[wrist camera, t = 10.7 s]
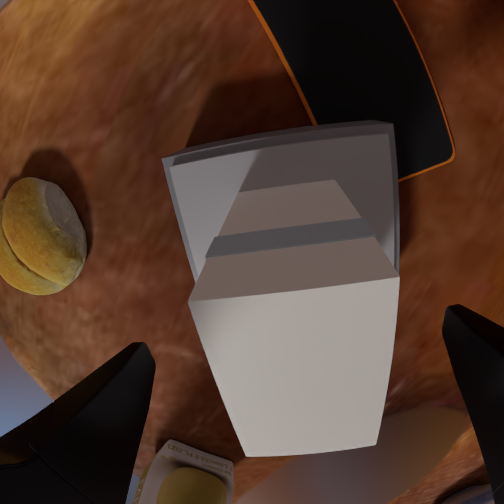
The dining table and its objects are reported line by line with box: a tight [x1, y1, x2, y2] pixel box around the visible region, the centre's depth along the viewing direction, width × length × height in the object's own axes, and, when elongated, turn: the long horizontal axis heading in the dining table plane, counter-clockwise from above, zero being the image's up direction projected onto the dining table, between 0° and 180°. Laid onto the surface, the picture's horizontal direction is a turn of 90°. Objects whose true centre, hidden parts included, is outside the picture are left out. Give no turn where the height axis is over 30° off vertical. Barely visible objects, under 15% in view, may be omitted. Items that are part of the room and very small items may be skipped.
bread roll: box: [0, 177, 87, 295], centre depth 18 cm, size 8×9×4 cm
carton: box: [188, 180, 400, 457], centre depth 11 cm, size 4×6×8 cm
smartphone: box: [248, 0, 455, 182], centre depth 13 cm, size 8×17×1 cm, turn 26°
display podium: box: [162, 120, 400, 283], centre depth 16 cm, size 10×10×4 cm
